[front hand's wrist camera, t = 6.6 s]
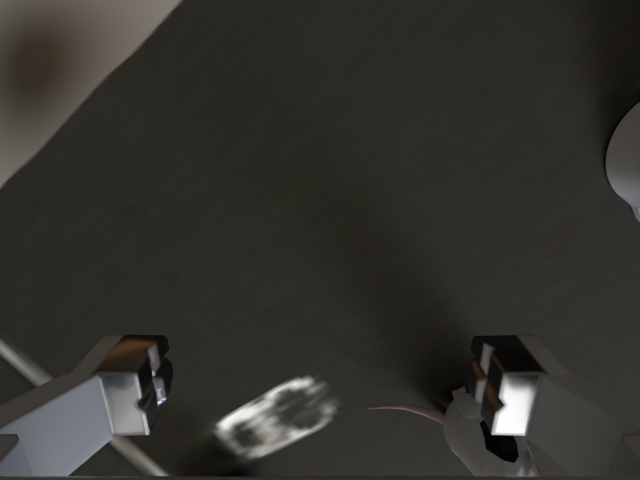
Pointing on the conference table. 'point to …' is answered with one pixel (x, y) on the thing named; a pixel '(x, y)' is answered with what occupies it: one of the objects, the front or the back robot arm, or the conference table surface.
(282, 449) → the conference table surface
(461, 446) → the toy
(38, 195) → the conference table surface
